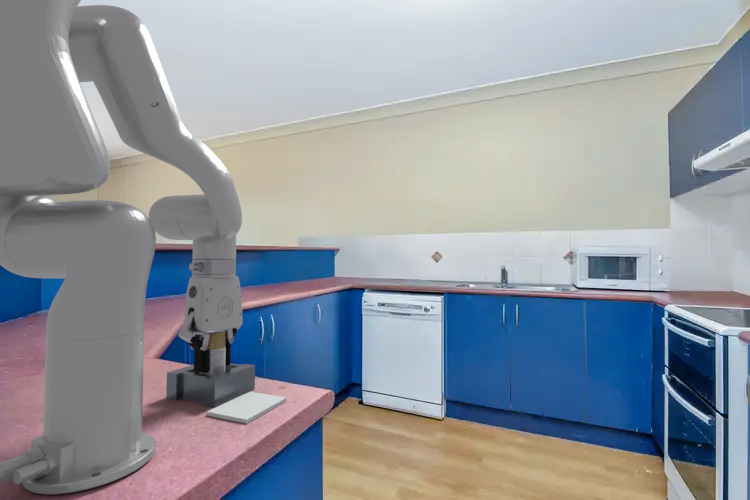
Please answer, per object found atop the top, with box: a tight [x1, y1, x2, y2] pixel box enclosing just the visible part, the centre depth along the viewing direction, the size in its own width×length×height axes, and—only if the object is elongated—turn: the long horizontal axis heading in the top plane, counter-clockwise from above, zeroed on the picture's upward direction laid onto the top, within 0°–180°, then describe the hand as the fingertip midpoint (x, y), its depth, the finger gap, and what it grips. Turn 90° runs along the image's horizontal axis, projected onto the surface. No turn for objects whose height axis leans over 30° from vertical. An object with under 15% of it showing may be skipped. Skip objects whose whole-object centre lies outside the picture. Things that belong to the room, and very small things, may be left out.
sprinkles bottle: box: [200, 330, 226, 376], centre depth 70 cm, size 5×5×13 cm
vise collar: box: [166, 363, 256, 408], centre depth 69 cm, size 10×11×4 cm
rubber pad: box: [206, 391, 287, 424], centre depth 62 cm, size 10×8×1 cm
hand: (212, 366), depth 70 cm, fingers closed on sprinkles bottle, 4 cm apart
